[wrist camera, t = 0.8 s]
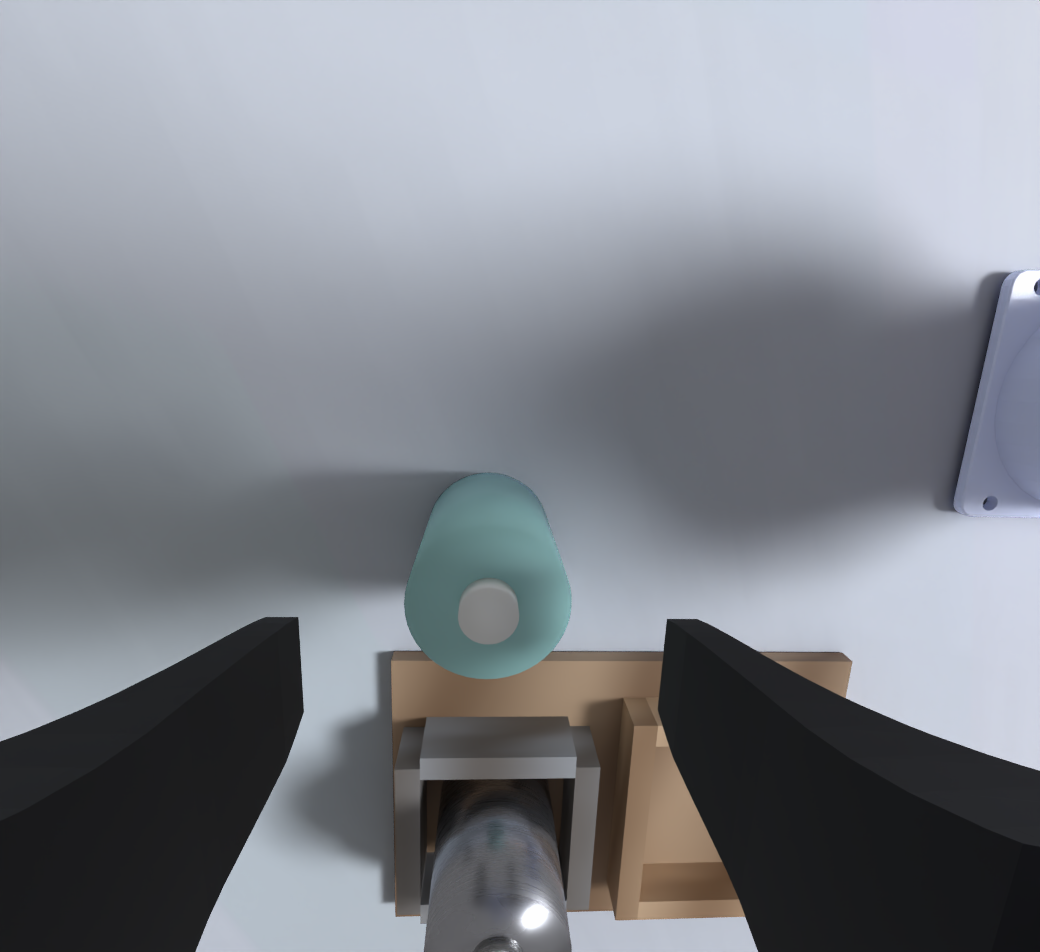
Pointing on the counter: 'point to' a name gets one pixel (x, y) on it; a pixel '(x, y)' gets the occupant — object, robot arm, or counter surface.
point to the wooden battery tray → (568, 775)
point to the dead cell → (496, 870)
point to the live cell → (487, 580)
